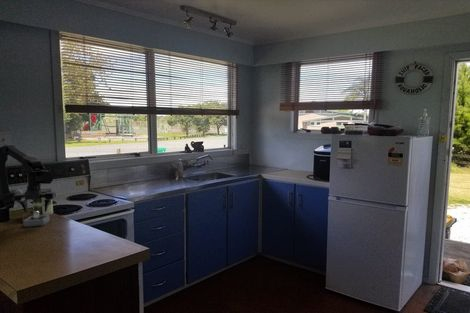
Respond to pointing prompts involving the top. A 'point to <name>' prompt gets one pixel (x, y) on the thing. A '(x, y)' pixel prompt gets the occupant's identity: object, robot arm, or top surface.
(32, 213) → the block
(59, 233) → the top surface
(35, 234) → the top surface
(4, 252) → the top surface
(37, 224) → the pin tray
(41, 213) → the coffee can
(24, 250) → the top surface
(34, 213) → the pin
